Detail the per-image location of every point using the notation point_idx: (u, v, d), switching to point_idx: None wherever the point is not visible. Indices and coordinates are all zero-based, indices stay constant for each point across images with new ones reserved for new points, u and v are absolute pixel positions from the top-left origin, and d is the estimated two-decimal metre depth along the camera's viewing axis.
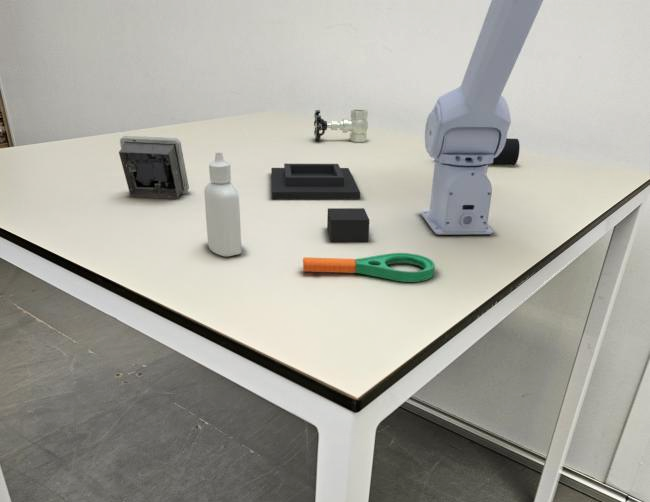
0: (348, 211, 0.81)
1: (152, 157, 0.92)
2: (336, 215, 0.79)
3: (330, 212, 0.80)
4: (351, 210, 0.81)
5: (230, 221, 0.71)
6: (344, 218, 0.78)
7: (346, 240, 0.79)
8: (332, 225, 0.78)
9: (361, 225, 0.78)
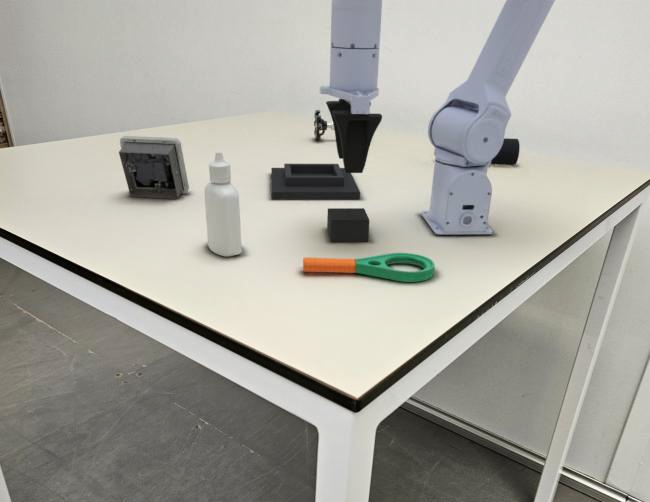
0: (348, 211, 0.81)
1: (152, 157, 0.92)
2: (336, 215, 0.79)
3: (330, 212, 0.80)
4: (351, 210, 0.81)
5: (230, 221, 0.71)
6: (344, 218, 0.78)
7: (346, 240, 0.79)
8: (332, 225, 0.78)
9: (361, 225, 0.78)
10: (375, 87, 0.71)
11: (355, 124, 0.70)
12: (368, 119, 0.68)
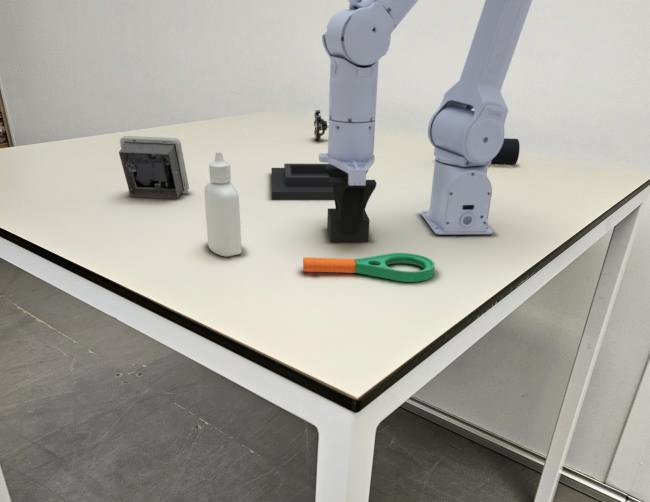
0: None
1: (152, 157, 0.92)
2: (336, 215, 0.79)
3: (330, 212, 0.80)
4: None
5: (230, 221, 0.71)
6: None
7: (346, 240, 0.79)
8: (332, 225, 0.78)
9: (361, 225, 0.78)
10: (371, 156, 0.75)
11: (351, 189, 0.75)
12: (363, 186, 0.73)
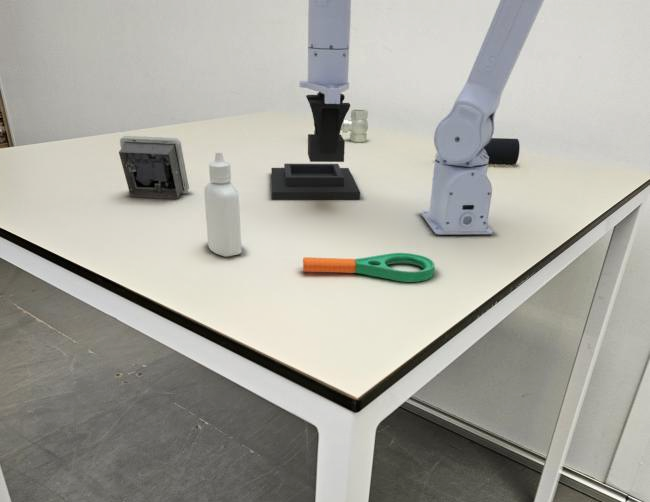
0: None
1: (152, 157, 0.92)
2: (315, 138, 0.88)
3: (310, 136, 0.89)
4: None
5: (230, 221, 0.71)
6: None
7: (324, 160, 0.88)
8: (311, 146, 0.87)
9: (337, 146, 0.87)
10: (346, 81, 0.84)
11: (328, 111, 0.84)
12: (338, 107, 0.82)
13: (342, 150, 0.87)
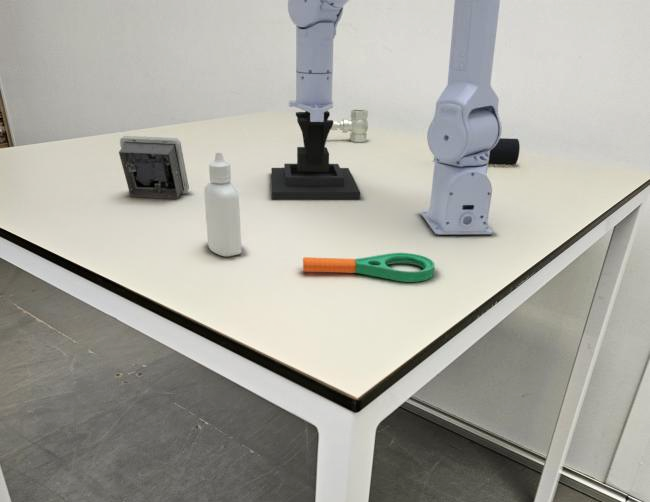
0: None
1: (152, 157, 0.92)
2: (303, 151, 0.99)
3: (299, 149, 1.00)
4: None
5: (230, 221, 0.71)
6: None
7: (311, 170, 0.99)
8: (299, 158, 0.98)
9: (323, 158, 0.98)
10: (330, 101, 0.95)
11: (314, 128, 0.95)
12: (323, 124, 0.93)
13: (327, 161, 0.98)
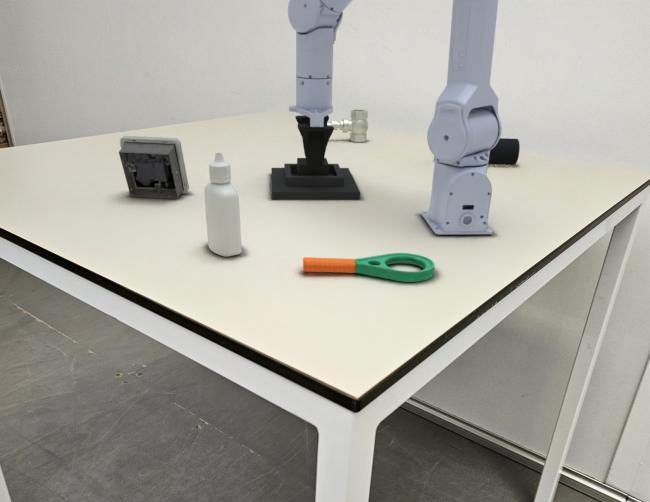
0: None
1: (152, 157, 0.92)
2: (303, 162, 1.00)
3: (298, 160, 1.01)
4: None
5: (230, 221, 0.71)
6: None
7: None
8: (299, 169, 0.99)
9: (322, 169, 0.99)
10: (330, 106, 0.96)
11: (314, 134, 0.95)
12: (323, 130, 0.93)
13: (326, 172, 0.99)
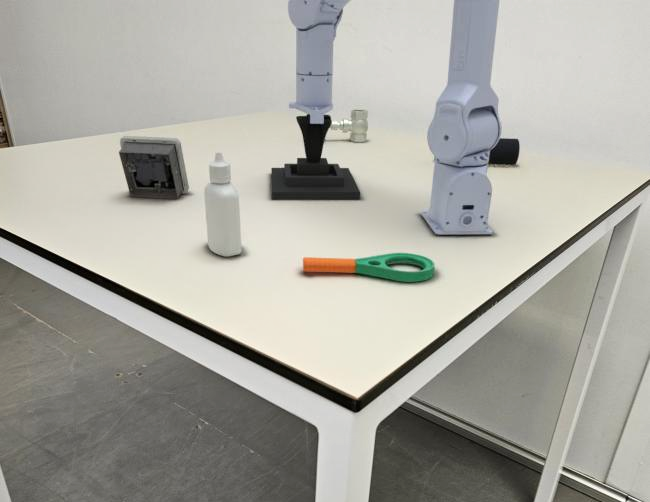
0: None
1: (152, 157, 0.92)
2: (303, 162, 1.00)
3: (298, 160, 1.01)
4: None
5: (230, 221, 0.71)
6: (309, 163, 0.99)
7: None
8: (299, 169, 0.99)
9: (322, 169, 0.99)
10: (330, 103, 0.95)
11: (313, 127, 0.97)
12: (321, 123, 0.96)
13: (326, 172, 0.99)
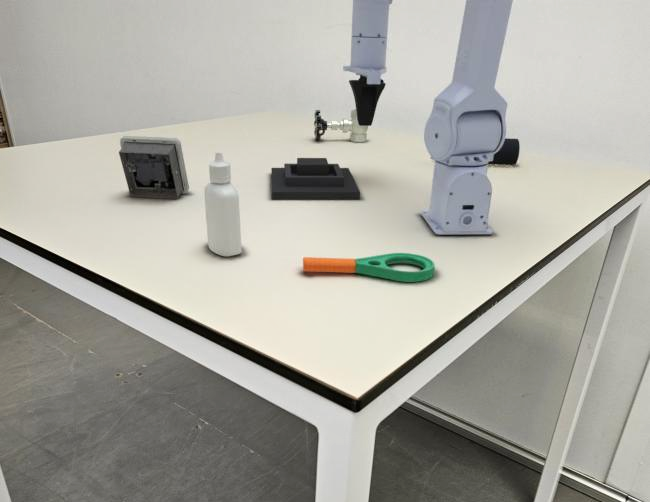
0: (313, 159, 1.02)
1: (152, 157, 0.92)
2: (303, 162, 1.00)
3: (298, 160, 1.01)
4: (315, 158, 1.02)
5: (230, 221, 0.71)
6: (309, 163, 0.99)
7: None
8: (299, 169, 0.99)
9: (322, 169, 0.99)
10: (384, 66, 0.97)
11: (366, 90, 0.99)
12: (375, 85, 0.97)
13: (326, 172, 0.99)
